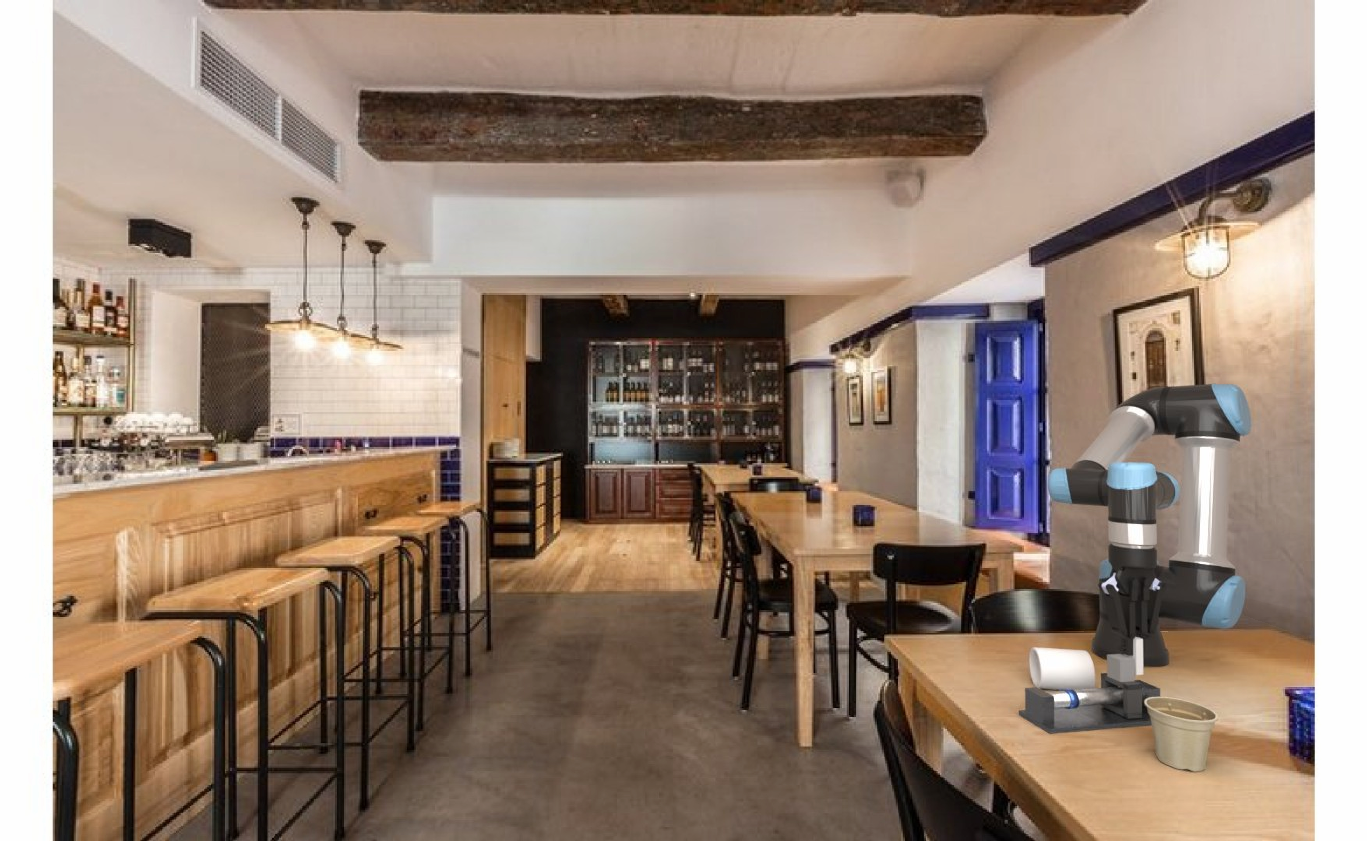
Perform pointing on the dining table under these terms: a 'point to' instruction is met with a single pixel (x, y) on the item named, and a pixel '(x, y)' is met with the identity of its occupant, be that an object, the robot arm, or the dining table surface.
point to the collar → (1123, 685)
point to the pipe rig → (1081, 709)
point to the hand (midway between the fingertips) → (1133, 672)
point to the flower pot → (1181, 731)
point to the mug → (1061, 669)
